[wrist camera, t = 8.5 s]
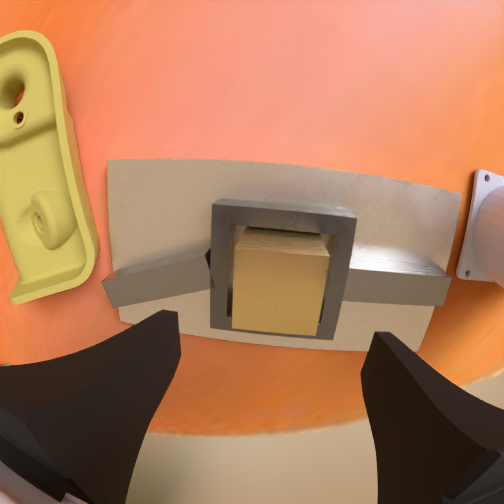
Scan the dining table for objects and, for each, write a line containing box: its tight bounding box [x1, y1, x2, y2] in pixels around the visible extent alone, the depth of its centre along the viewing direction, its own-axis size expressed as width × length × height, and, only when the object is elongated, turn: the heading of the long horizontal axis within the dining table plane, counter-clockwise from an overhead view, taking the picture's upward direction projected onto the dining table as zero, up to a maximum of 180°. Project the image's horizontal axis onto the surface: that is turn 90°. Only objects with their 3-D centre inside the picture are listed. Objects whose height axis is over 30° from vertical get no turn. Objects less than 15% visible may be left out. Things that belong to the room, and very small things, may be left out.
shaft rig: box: [101, 158, 462, 351], centre depth 17 cm, size 23×12×3 cm, turn 86°
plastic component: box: [0, 30, 100, 305], centre depth 16 cm, size 20×7×10 cm
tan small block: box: [232, 226, 330, 336], centre depth 15 cm, size 4×4×5 cm
